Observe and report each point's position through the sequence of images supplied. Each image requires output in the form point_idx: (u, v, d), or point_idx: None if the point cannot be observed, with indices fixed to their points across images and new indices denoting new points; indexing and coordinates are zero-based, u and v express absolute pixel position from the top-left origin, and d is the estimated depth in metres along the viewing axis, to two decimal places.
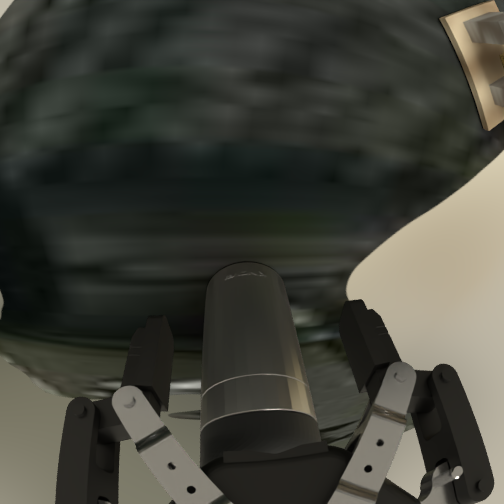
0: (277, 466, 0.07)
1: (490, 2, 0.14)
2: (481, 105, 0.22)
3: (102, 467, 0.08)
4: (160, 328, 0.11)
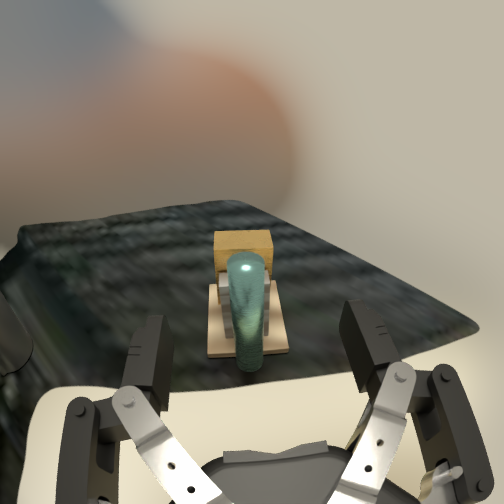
0: (277, 466, 0.07)
1: None
2: None
3: (102, 467, 0.08)
4: (160, 328, 0.11)
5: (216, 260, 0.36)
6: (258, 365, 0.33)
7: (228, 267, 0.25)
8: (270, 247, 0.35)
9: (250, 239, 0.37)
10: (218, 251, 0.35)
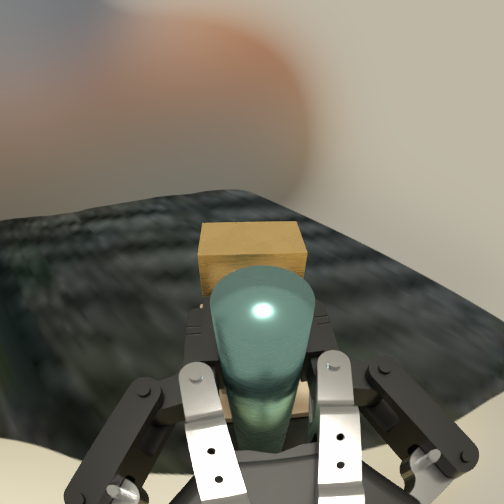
0: (277, 466, 0.07)
1: None
2: None
3: (143, 447, 0.09)
4: None
5: (203, 274, 0.20)
6: None
7: (214, 312, 0.09)
8: (301, 252, 0.19)
9: (264, 237, 0.20)
10: (207, 259, 0.19)
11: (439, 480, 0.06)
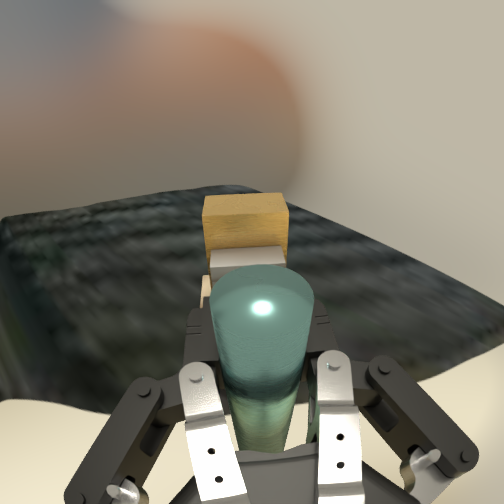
0: (277, 466, 0.07)
1: None
2: None
3: (143, 447, 0.09)
4: None
5: (206, 233, 0.24)
6: None
7: (213, 309, 0.09)
8: (284, 211, 0.24)
9: (255, 203, 0.25)
10: (209, 219, 0.24)
11: (439, 480, 0.06)
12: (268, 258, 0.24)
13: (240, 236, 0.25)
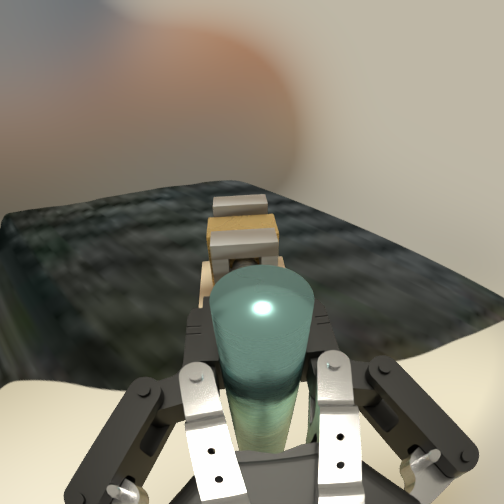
0: (277, 466, 0.07)
1: None
2: None
3: (143, 447, 0.09)
4: None
5: None
6: None
7: (214, 310, 0.09)
8: None
9: (250, 224, 0.30)
10: None
11: (439, 480, 0.06)
12: (263, 238, 0.27)
13: None
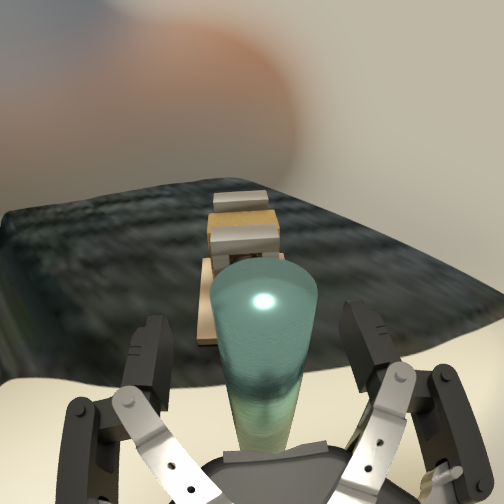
0: (277, 466, 0.07)
1: None
2: (198, 315, 0.32)
3: (102, 467, 0.08)
4: (160, 328, 0.11)
5: (210, 246, 0.29)
6: None
7: (214, 303, 0.08)
8: None
9: (251, 220, 0.30)
10: None
11: (449, 501, 0.05)
12: (263, 234, 0.26)
13: None
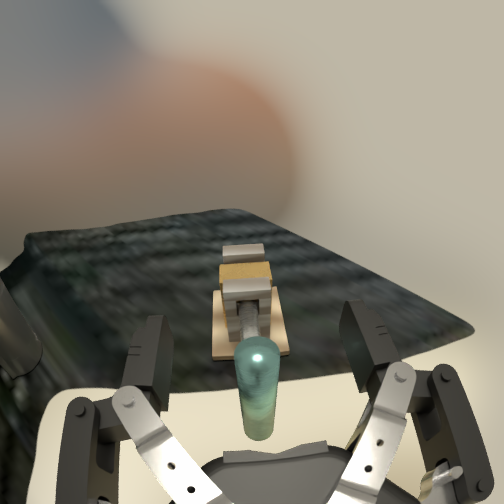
0: (277, 466, 0.07)
1: None
2: None
3: (102, 467, 0.08)
4: (160, 328, 0.11)
5: (222, 291, 0.40)
6: (268, 435, 0.27)
7: (236, 360, 0.19)
8: (269, 279, 0.40)
9: (251, 271, 0.41)
10: None
11: (449, 501, 0.05)
12: (260, 286, 0.37)
13: None
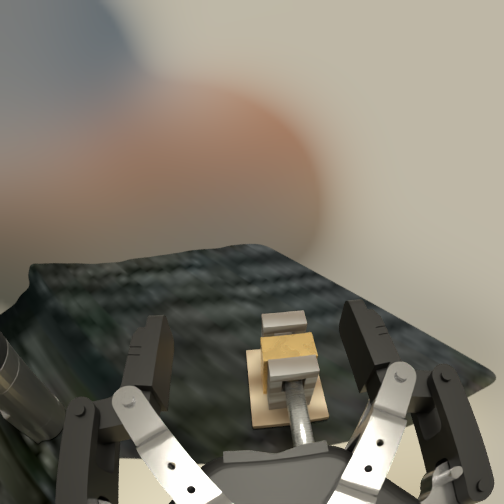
0: (277, 466, 0.07)
1: None
2: (251, 406, 0.39)
3: (102, 467, 0.08)
4: (160, 328, 0.11)
5: (265, 368, 0.37)
6: None
7: None
8: None
9: (295, 346, 0.37)
10: None
11: (449, 501, 0.05)
12: (308, 367, 0.34)
13: None
